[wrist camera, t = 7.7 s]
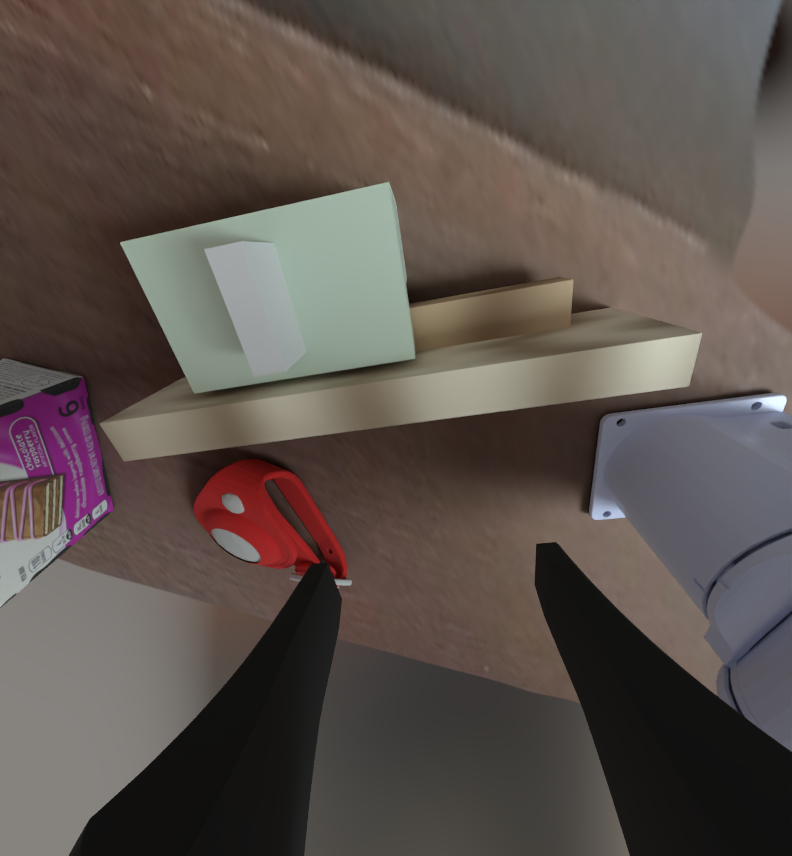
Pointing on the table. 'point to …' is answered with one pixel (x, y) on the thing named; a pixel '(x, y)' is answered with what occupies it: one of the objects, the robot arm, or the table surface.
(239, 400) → the wall board
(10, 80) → the table surface
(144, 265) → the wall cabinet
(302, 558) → the tracker holder
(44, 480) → the candy bar box
